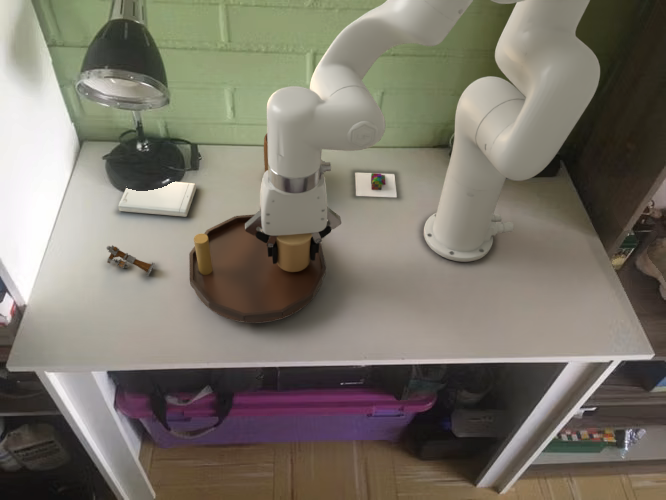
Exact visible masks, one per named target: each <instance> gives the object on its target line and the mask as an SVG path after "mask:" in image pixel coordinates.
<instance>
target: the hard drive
mask: <svg viewBox="0 0 666 500" xmlns="http://www.w3.org/2000/svg"><path fill="white" fill-rule="evenodd" d="M196 191H197V184H196V183H194V182H193V183H192V182H184V181H175V182H172V183H170V184H168V185H167V186H164V187H162V188H158V189H154V190H148V191H136V190H132V189H128V188H126V187H125V190H124V191H123V193H122V196H121V198H120V201H119V202H118V206H117V207H118V211H119V212H127V213H139V214H150V215H161V216H174V217H184V218H185V217H188V214H189V212H190V208H191V204H192V203H193V199H194V197H195V194H196Z"/></svg>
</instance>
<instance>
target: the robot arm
mask: <svg viewBox="0 0 666 500" xmlns="http://www.w3.org/2000/svg"><path fill="white" fill-rule="evenodd" d="M489 1H490V2H493V3H495V4H498V5H499V4H500V5H506V4H507V5H510V4H515V6H514V7H513V9H512V12H511V13H510V16H509V17H508V20H507V22H506V23H505V26H504V28H503V30H502V32H501V35H500V37H499V38H498V41H497V44H496V47H495V51H494V60H495V63H496V65H497V67H498V69H499V70H500V71H501V73H503V74H504V76H505V77H506V78H507V79H508V80H509V81H508V80H506V79H504V78H503V77H498V76H490V75H488V76H483V77H480V78H477V79H476V80H474V81H472V82H471V83H470V84H469V85H468V86H467V87H466V88H465V89H464V90H463V92H462V93H461V95H460V97H459V100H458V102H457V104H456V110H455V116H454V136H453V143H452V144H453V145H452V149H451V153H450V154H451V155H450V159H449V163H448V165H447V169H446V173H445V178H444V182H443V186H442V189H441V193H440V198H439V202H438V206H437V209H436V212H434V213H432V214H431V215H430V216H429V217H428V218H427V220H426V221H425V224H424V227H423V238H424V240H425V242H426V244H427V246H428V247H429V248H430V249H431V250H432V251H433V252H435V253H436V254H437V255H439V256H441V257H443V258H445V259H447V260H450V261H454V262H464V263H467V262H473V261H474V262H475V261H477V260H480V259H482V258H484V257H485V256H486V255H487V254H488V253H489V252H490V250H491V248H492V245H493V242H494V236H496V235H497V234H500V233H501V234H506V233H508V234H509V233H513V231H514V224H513V221H505V222H503V221H502V219H503V218H502V215H501V214H499V213H498V214H494V213H495V210H496V208H497V204H498V202H499V199H500V196H501V193H502V190H503V188H504V185H505V182H506V180H507V179H508V180H511V181H514V182H522V181H526V180H530V179H532V178H533V177H535V176H537V175H538V174H540V173H541V172H542V171H543V170H545V168H547V167H548V165H549V164H551V162H552V161H553V160H554V158H555V157H556V155H557V154H558V153H559V151H560V149H561V148H562V147H563V145H564V143H565V141H566V140H567V139H568V137H569V135H570V134H571V133H572V131H573V129H574V128H575V127H576V125H577V123H578V122H579V120H580V119H581V117H582V115H583V114H584V112H585V111H586V109H587V108H588V106H589V104H590V102H591V101H592V99H593V97H594V95H595V93H596V91H597V89H598V87H599V83H600V82H599V81H600V78H601V66H600V63H599V59H598V57H597V56H596V54H595V53H594V51H593V50H592V49H591V48H590V47H589V46H588V45H587V44H585V43H584V42H583V41H582V40H581V39H579V38H578V36H576V31H577V27H578V25H579V23H580V22H581V19H582V17H583V15H584V14H585V12H586V9H587V8H588V5H589V3H590V1H591V0H489ZM473 2H474V0H386V1H385V2H383V3H382V4H380V5H379V6H376V7H374V8H372V9H370V10H369V11H366V12H365V13H363V14H362V15H361V16H359V17H358V18H356V19H355V20H354V21H351V22H350V23H349V24H348V25H347V26H345V27H344V28H343V29H342V30H341V31H340V32H339V33H338V34H337V35H336V37H335V38H334V40H333V41H332V42H331V44H330V45H329V47H328V48H327V50H326V51H325V53H324V54H323V56H322V57H321V59H320V61H318V64H317V66H316V67H315V69H314V70H313V71H314V72H313V73H312V76H311V79H310V82H309V88H308V87H304V86H299V85H291V86H290V85H289V86H285V87H281V88H279V89H277V90H275V91H274V92H273V93H272V94H271V95H270V97H269V98H268V100H267V104H266V134H267V141H268V170H267V171H266V172H265V171H264V173H263V175H262V177H261V178H262V179H261V184H260V192H259V210H258V211H256V213H255V215H254V214H253V215H254V216H253V217H252V218H251V219H249V220H248V221H247V222H246V223H245V231H246V232H248V233H250V234H252V235H253V236H254V235H255V236H256V238H257V239H259V240H261V241H262V242H264V243H266V246H267V252H268V257H272V260H273V264H276V263H277V243H276V239H277V237H278V235H292V234H304V233H311V234H312V237H311V245H310V259H311V260H312V261H313V260H315V255H316V253H319V243H321V244H322V242H323V239H324V238H326V237H327V236H328V235H329V234H330V233H332V230H335V229H336V228H338V227H339V226H341V225H342V224H343V223H342V218H341V216H340V215H339V214H338V213H337V212H335V211H334V210H333V209H332V208H330V207H329V206H328V196H327V185H326V178H325V174H324V173H326V172H331V171H332V170H331V169H332V166H331V165H332V164H331V162H330V161H325V160H324V161H323V159H322V155H323V154H322V152H323V150H331V151H332V150H333V151H344V152H353V151H354V152H355V151H356V152H357V151H363V150H367V149H369V148H371V147H374V146H375V145H377V143H379V142H380V141H381V139H382V138H383V136H384V134H385V133H386V132H385V131H386V119H385V116H384V113H383V111H382V110H381V109H382V108H380V105H379V104H378V103H377V101H376V100H375V98H374V97H373V96H372V94H371V91H369V89H368V88H367V86H366V85H365V82H364V81H363V79H364V78H365V76H366V75H367V73H368V72H369V71H370V69H371V68H372V66H373V65H374V63H376V62H377V60H378V59H379V58H381V56H382V55H383V54H384V53H386V52H387V51H389V50H390V49H392V48H394V47H397V46H401V45H407V44H413V45H414V44H415V45H420V46H425V47H435V46H438V45H440V44H441V43H442V42H444V40H445V39H446V38H447V37H448V35H449V33H450V32H451V31H452V29H453V28H454V27H455V26H456V24H457V22H458V21H459V20H460V19H461V17H462V16H463V14H464V13H465V12H466V11H467V9H468V8H469V7H470V5H471V4H472V3H473ZM260 224H262V227H260V226H259V225H260Z"/></svg>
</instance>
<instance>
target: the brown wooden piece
mask: <svg viewBox="0 0 666 500" xmlns="http://www.w3.org/2000/svg"><path fill="white" fill-rule="evenodd" d="M106 250H107V251H108V253H110V255H109V256H108V258H107V261H106V263H107V264H111V263H112V262H114V264H116V267H120V268H122V269H124V268H125V269H127V268H129V264H130V265H134V266H136V267H137V268H139V269H141V270H142V271H144V272H145V273H146V276H147V277H149V275H150V274H151V272H152V270H153V268H154V267H155V262H151V263H148V262H145V261H143V260H139V259H138V258H137V257H135V256H133V255H131V254H129V253H128V252H126V253H125V252H124V251H122V250H120V248H118V247H117V246H114V245H113V244H112V245H107V246H106ZM117 258H119V259H117ZM127 263H128V264H127Z"/></svg>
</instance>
